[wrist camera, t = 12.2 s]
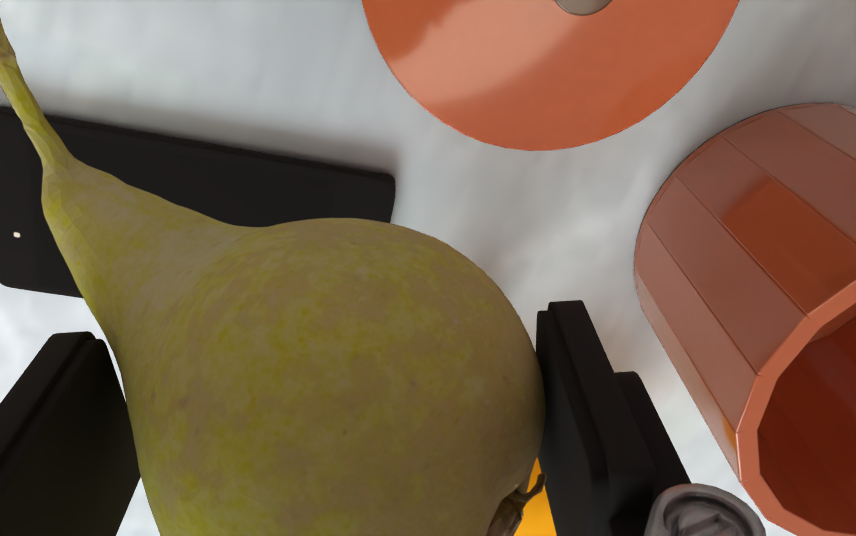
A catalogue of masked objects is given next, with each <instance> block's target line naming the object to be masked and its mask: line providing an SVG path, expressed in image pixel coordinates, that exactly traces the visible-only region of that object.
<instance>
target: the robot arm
mask: <svg viewBox="0 0 856 536" xmlns="http://www.w3.org/2000/svg"><path fill="white" fill-rule="evenodd" d="M536 356H537V358H538V362H539V365H540V369H541V373H542V377H543V385H544V393H545V404H546V413H545V426H544V432H543V438H542V444H541V449H540V451H539V454H538V456H537V457H538V461H539V465H540V469H541V473H545V472H546V474H547V476H548V477H547V479H546V481H545V483H544V486H545V490H546V494H547V498H548V502H549V506H550V510H551V514H552V518H553V523H554V527H555V531H556V535H557V536H766V532H765V528H764V526H763V524H762V522H761V520H760V518H759V517H758V515H757V514H756V513H755V512H754V511H753V510H752V509H751V508H750V507H749V506H748V504H747V503H745V502H744V501H742V500H741V499H739V498H738V497H736V496H735V495H733V494H732V493H729V492H727V491H724V490H722V489H720V488H717V487H714V486H709V485H704V484H699V483H694V484H692V483H691V481H690V479H689V477H688V475H687V473H686V471H685V469H684V467H683V465H682V463H681V461H680V459H679V457H678V454H677V452H676V450H675V448H674V446H673V444H672V442H671V440H670V438H669V436H668V434H667V432H666V430H665V428H664V426H663V424H662V421H661V419H660V417H659V415H658V413H657V411H656V409H655V407H654V405H653V403H652V401H651V399H650V397H649V395H648V393H647V391H646V388H645V386H644V384H643V382H642V380H641V379H640V377H639V375H638V374H637V373H636V372H634V371H630V372H615V373H614V371H613V369H612V367H611V365H610V362H609V360H608V358H607V355H606V353H605V351H604V349H603V346H602V344H601V342H600V339H599V337H598V335H597V333H596V330H595V328H594V326H593V323H592V321H591V319H590V317H589V314H588V312H587V310H586V307H585V305H584V303H583V302H582V301H581V300H575V301H559V302H550V303H549V305H548V310H547V311H538V314H537V331H536ZM140 477H141V475H140V471H139V465H138V458H137V452H136V447H135V442H134V437H133V431H132V426H131V422H130V418H129V413H128V409H127V405H126V402H125V399H124V396H123V393H122V390H121V387H120V384H119V381H118V378H117V375H116V372H115V369H114V366H113V363H112V360H111V357H110V354H109V351H108V348H107V346H106V344H105V342H104V341H103V340H102V339H96V338H95V336H94V335H93V334H92V333H91V332H88V331H86V332H70V333H56V334H53V335H52V336H51V337H50V338H49V339H48V340H47V342H46V343H45V344H44V346H43V347H42V348H41V350H40V351H39V352H38V354H37V355H36V356H35V358H34V359H33V360H32V362H31V363H30V364H29V366H28V367H27V368H26V370H25V371H24V373H23V374H22V375H21V377H20V378H19V379H18V381H17V382H16V383H15V385H14V386H13V387H12V389H11V390H10V391H9V393H8V394H7V395H6V397H5V398H4V399H3V401H2V402H1V403H0V536H116V534H117V532H118V529H119V527H120V525H121V522H122V520H123V517H124V515H125V513H126V510H127V508H128V506H129V503H130V501H131V498H132V496H133V494H134V491H135V489H136V487H137V484H138V482H139V479H140Z"/></svg>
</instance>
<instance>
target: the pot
mask: <svg viewBox="0 0 856 536" xmlns="http://www.w3.org/2000/svg"><path fill="white" fill-rule="evenodd" d="M634 278H635V285H636V290H637V293H638V296H639V300H640V303H641V308H642V310H643V312H644V314H645V316H646V317H647V319H648V321H649V323H650V325H651V326H652V328H653V330H654V332H655V333H656V335H657V337H658V339H659V340H660V342H661V344H662V346H663V348H664V349H665V351H666V353H667V355H668V356H669V358H670V360H671V362H672V363H673V365H674V367H675V369H676V371H677V372H678V374H679V376H680V378H681V379H682V381H683V383H684V385H685V386H686V388H687V390H688V392H689V394H690V395H691V397H692V399H693V401H694V402H695V404H696V406H697V408H698V409H699V411H700V413H701V415H702V417H703V418H704V420H705V422H706V424H707V425H708V427H709V429H710V431H711V432H712V434H713V436H714V438H715V440H716V441H717V443H718V445H719V447H720V448H721V450H722V452H723V454H724V455H725V457H726V459H727V461H728V463H729V464H730V466H731V468H732V470H733V471H734V473H735V475H736V477H737V478H738V480H739V482H740V484H741V485H742V486H743V488H744V489H745V491H746V492H747V493H748V495H749V496H750V498H751V499H752V500H753V502H754V503H755V505H756V506H757V507H758V509H759V510H760V512H761V513H762V514H763V516H764V517H765V518H766V519H767V520H768V521H770V522H772V523H774V524H776V525H778V526H780V527H781V528H783V529H785V530H787V531H789V532H791V533H793V534H795V535H797V536H856V108H854V107H851V106H847V105H839V104H831V103H806V104H799V105H792V106H785V107H781V108H778V109H774V110H770V111H766V112H763V113H760V114H758V115H755V116H753V117H750V118H747V119H745V120H743V121H741V122H739V123H737V124H735V125H733V126H731V127H729V128H727V129H725V130H724V131H722V132H720V133H719V134H717V135H716V136H714V137H713V138H711V139H710V140H708V141H707V142H705V143H704V144H703V145H702V146H700V147H699V148H698V149H697V150H696V151H694V152H693V153H692V154H691V155H689V156H688V157H687V158H686V159H685V160H684V161H683V162H682V163H681V164H680V165H679V166H678V167H677V169H676V170H675V171H674V172H673V173H672V174H671V175H670V177H669V178H668V179H667V180H666V182H665V183H664V184H663V186H662V187H661V188H660V190H659V191H658V193H657V195H656V196H655V198H654V199H653V201H652V203H651V204H650V206H649V209H648V211H647V213H646V215H645V217H644V219H643V222H642V225H641V228H640V231H639V234H638V237H637V242H636V248H635V254H634Z"/></svg>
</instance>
